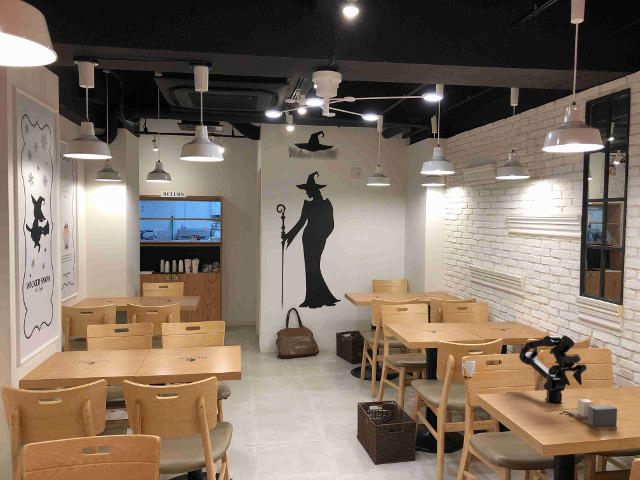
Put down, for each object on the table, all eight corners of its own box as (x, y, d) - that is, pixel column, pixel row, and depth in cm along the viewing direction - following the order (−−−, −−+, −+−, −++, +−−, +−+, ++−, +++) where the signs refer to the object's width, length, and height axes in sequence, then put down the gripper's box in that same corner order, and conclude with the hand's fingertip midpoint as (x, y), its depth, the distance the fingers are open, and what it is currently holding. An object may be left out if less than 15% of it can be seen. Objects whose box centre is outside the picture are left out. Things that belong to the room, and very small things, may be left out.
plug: (577, 413, 247) (578, 399, 247) (586, 413, 248) (587, 398, 248) (587, 418, 241) (587, 404, 240) (596, 418, 242) (596, 403, 242)
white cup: (475, 375, 312) (476, 359, 311) (473, 378, 305) (474, 362, 304) (462, 373, 315) (463, 357, 315) (460, 376, 308) (460, 360, 308)
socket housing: (587, 422, 236) (588, 405, 236) (608, 421, 238) (608, 404, 238) (595, 427, 231) (596, 409, 231) (616, 425, 234) (617, 408, 233)
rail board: (567, 413, 250) (567, 411, 250) (584, 412, 253) (584, 410, 253) (598, 430, 230) (598, 428, 230) (617, 429, 233) (617, 426, 233)
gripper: (553, 349, 255) (567, 377, 245) (585, 348, 259) (600, 376, 249) (542, 360, 263) (555, 388, 253) (573, 359, 267) (588, 387, 257)
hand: (575, 385), depth 253 cm, fingers open, 6 cm apart
